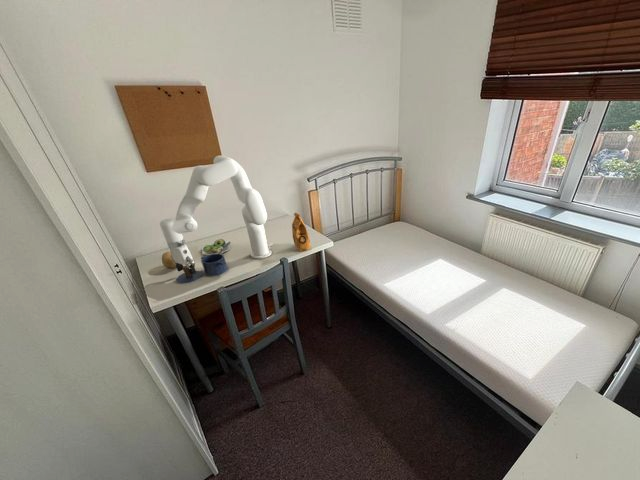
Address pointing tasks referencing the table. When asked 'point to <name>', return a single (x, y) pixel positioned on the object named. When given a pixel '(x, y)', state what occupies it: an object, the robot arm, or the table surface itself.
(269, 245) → the robot arm
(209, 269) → the pot
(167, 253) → the potato
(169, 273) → the table surface
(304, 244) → the coffee package
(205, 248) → the salad plate
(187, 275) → the lid
